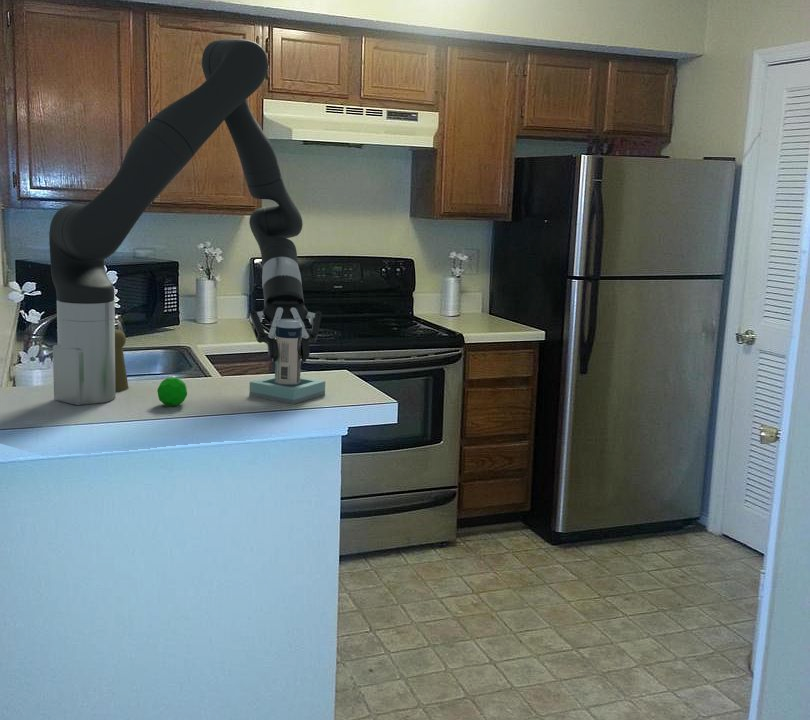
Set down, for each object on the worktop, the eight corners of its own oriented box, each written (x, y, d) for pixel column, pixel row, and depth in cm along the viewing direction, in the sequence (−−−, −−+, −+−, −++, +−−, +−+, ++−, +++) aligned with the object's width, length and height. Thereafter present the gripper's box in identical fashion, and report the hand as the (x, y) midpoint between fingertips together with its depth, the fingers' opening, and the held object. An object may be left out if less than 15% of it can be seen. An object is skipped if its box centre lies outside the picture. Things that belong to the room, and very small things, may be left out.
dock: (293, 404, 149) (294, 390, 148) (249, 395, 153) (249, 381, 153) (324, 394, 157) (325, 381, 157) (282, 386, 162) (282, 373, 161)
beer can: (305, 385, 155) (307, 321, 152) (282, 387, 152) (284, 322, 149) (292, 380, 158) (294, 317, 156) (269, 382, 155) (271, 319, 153)
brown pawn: (134, 385, 156) (133, 328, 154) (120, 393, 150) (119, 333, 148) (103, 383, 156) (102, 325, 154) (87, 390, 150) (86, 330, 148)
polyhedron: (152, 407, 141) (152, 380, 141) (164, 400, 146) (163, 374, 145) (181, 409, 141) (181, 382, 140) (191, 403, 146) (191, 376, 145)
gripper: (246, 272, 156) (252, 347, 147) (321, 274, 160) (331, 347, 151) (243, 297, 162) (248, 370, 153) (315, 298, 166) (325, 370, 157)
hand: (290, 358), depth 152 cm, fingers closed on beer can, 4 cm apart
